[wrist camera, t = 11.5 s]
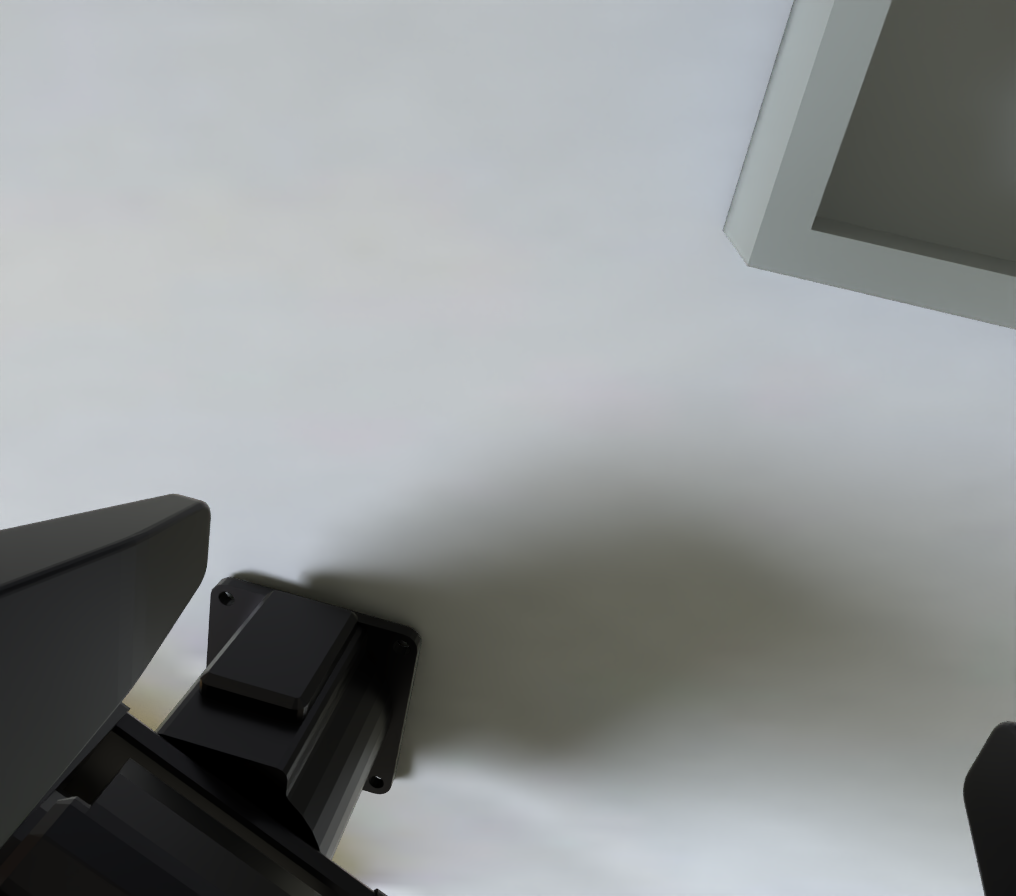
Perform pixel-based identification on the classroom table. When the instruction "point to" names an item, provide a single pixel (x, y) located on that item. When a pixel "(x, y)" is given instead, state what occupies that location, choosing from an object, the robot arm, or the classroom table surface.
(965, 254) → the bin
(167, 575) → the robot arm
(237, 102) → the classroom table surface
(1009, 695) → the classroom table surface
